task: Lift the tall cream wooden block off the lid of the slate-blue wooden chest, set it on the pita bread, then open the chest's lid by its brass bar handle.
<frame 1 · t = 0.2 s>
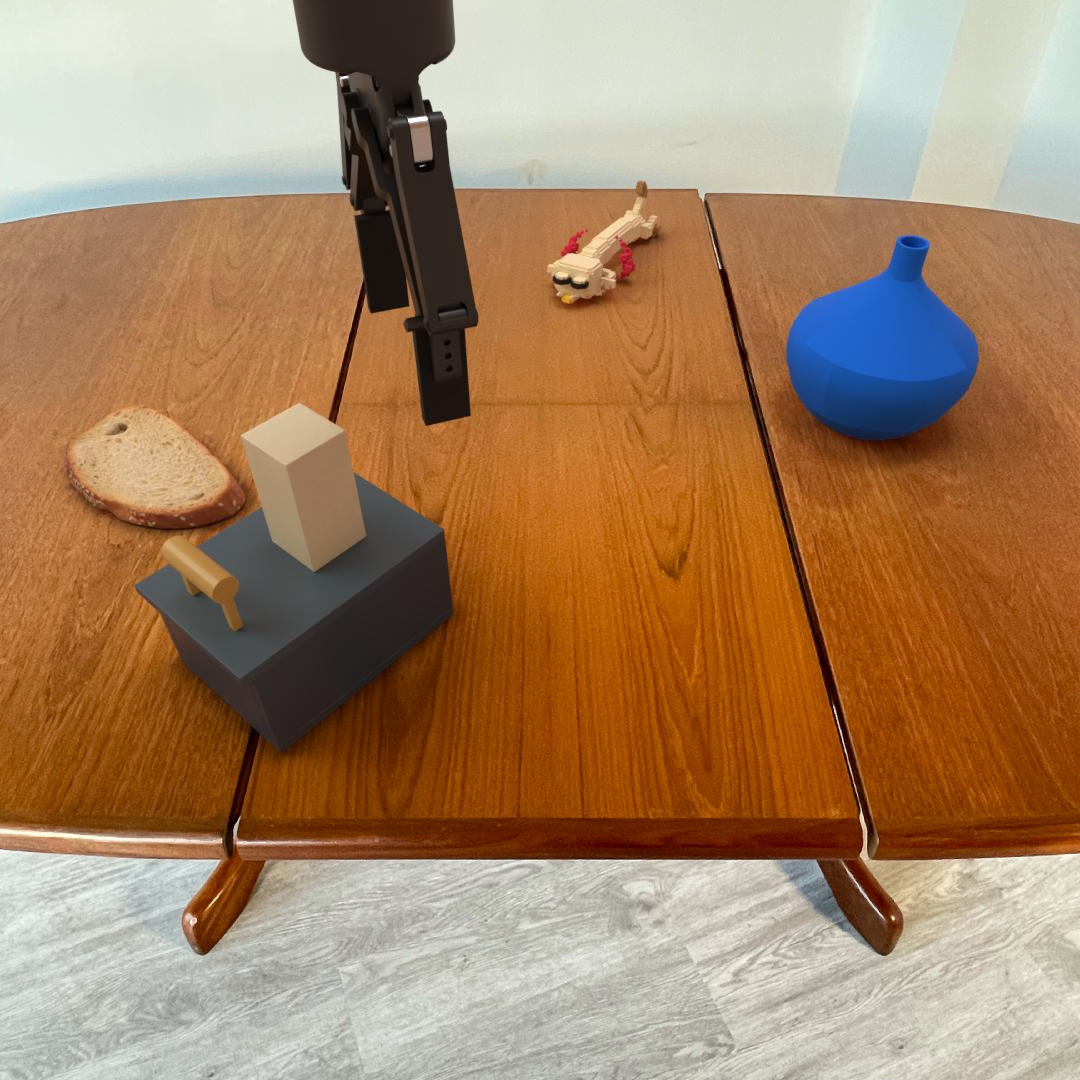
hand: (415, 358, 55), 25 cm above the table, tool pointing down, fingers open, 13 cm apart
bread slice: (158, 474, 87), on the table
block: (319, 539, 66), point 10 cm above the table, touching chest lid
chest lid: (288, 535, 63), point 12 cm above the table, hinge at -0.2°, touching block, chest
chest: (321, 637, 72), on the table
cat figure: (605, 269, 118), on the table
vase: (860, 414, 94), on the table
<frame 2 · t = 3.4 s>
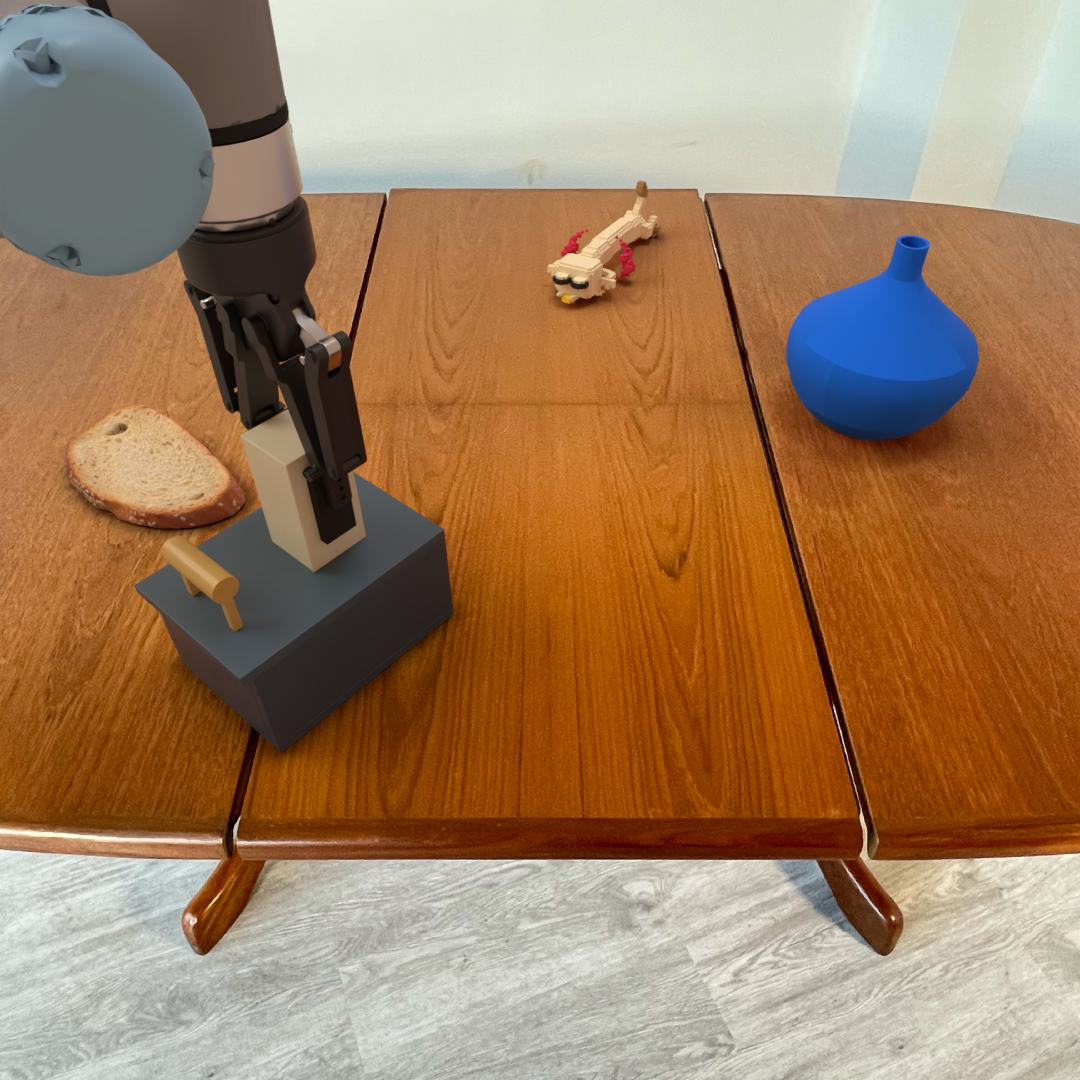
hand: (313, 514, 64), 12 cm above the table, tool pointing down, fingers closed on block, 5 cm apart
block: (319, 539, 66), point 10 cm above the table, touching chest lid, gripper
everything else where it was.
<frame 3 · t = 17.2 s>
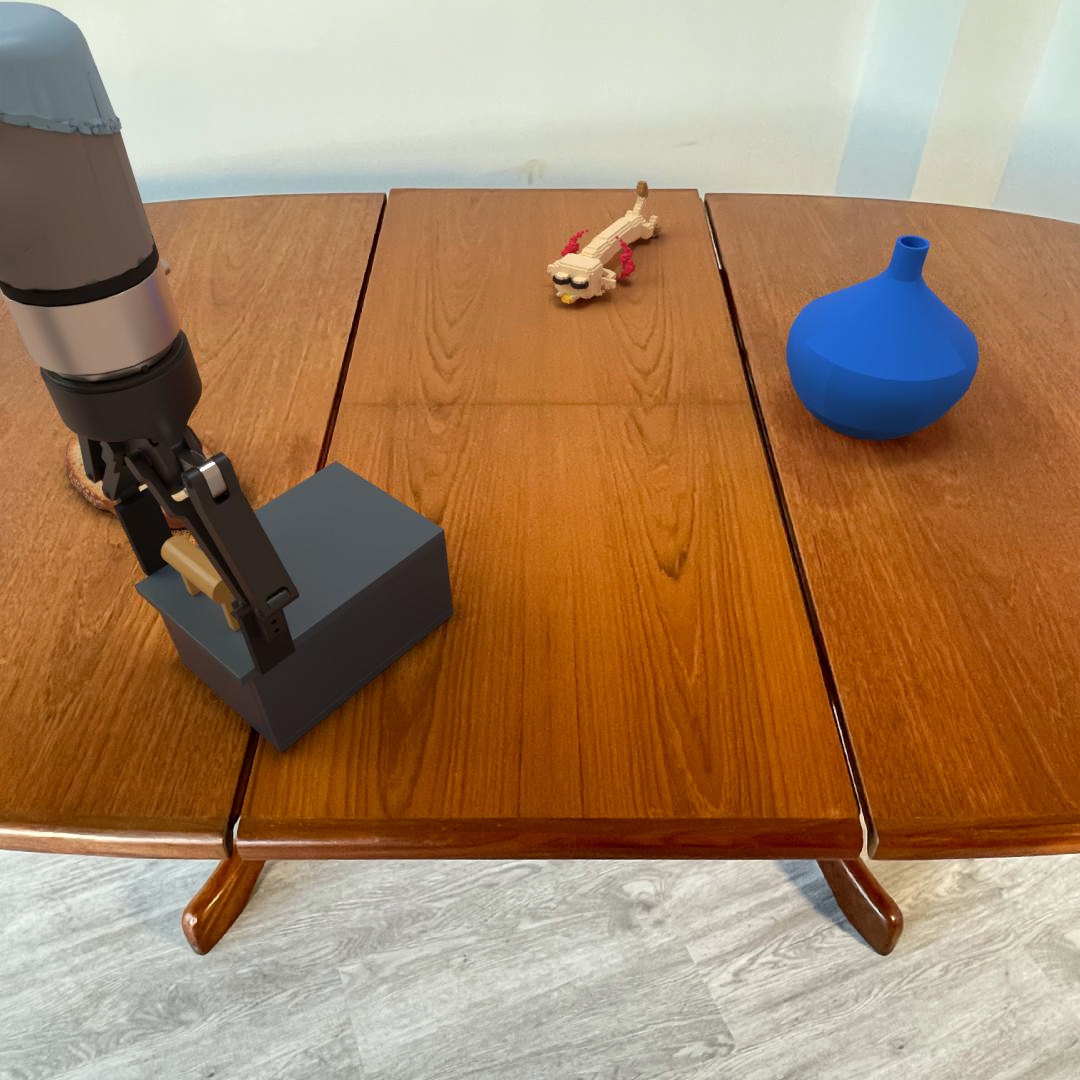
hand: (216, 610, 61), 10 cm above the table, tool pointing down
bread slice: (159, 474, 87), on the table, touching block
block: (148, 445, 85), point 3 cm above the table, touching bread slice
chest lid: (288, 535, 63), point 12 cm above the table, hinge at -0.2°, touching chest, gripper
everything else where it was.
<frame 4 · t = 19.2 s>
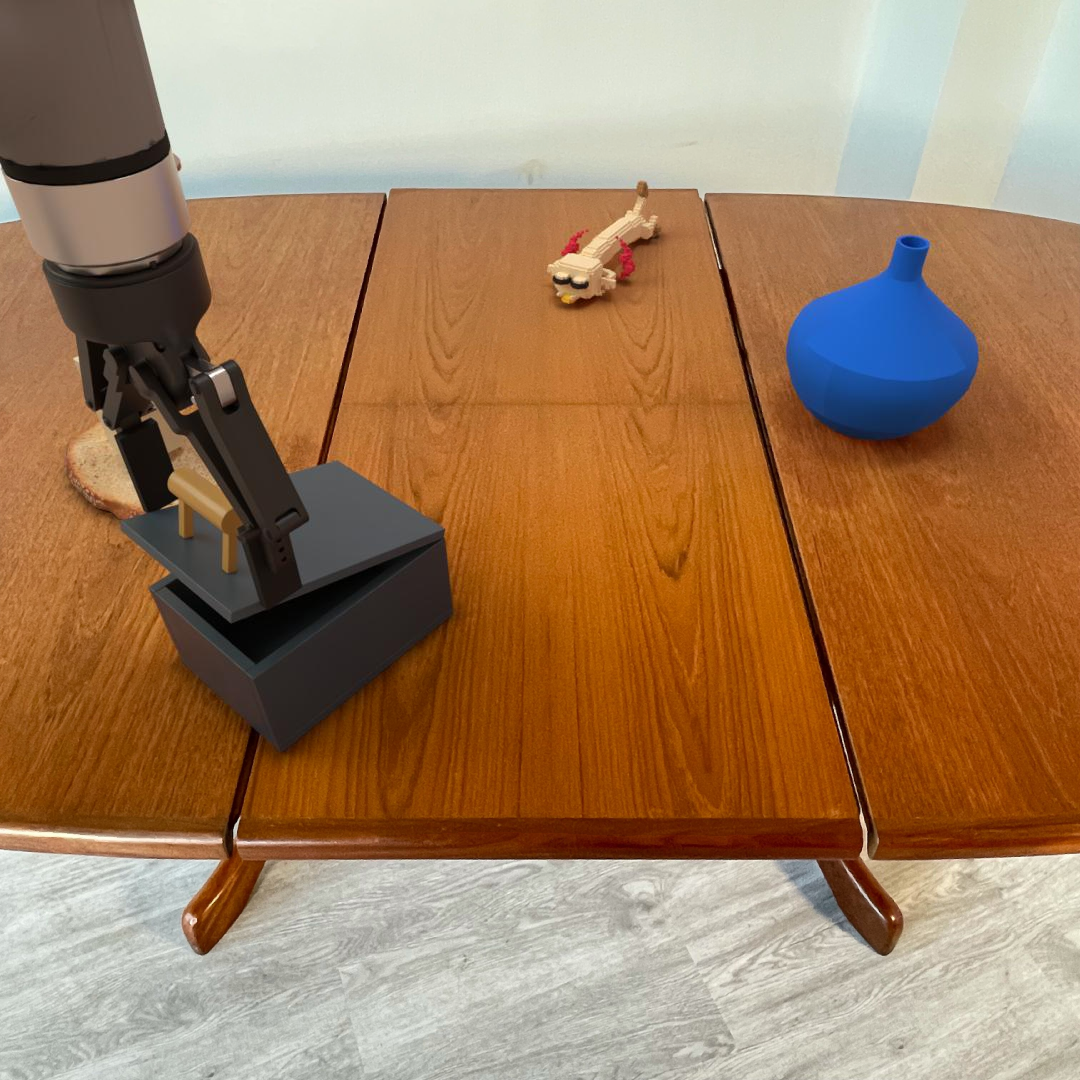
hand: (219, 547, 59), 14 cm above the table, tool pointing down
chest lid: (293, 499, 62), point 15 cm above the table, hinge at 17.6°, touching gripper
everything else where it was.
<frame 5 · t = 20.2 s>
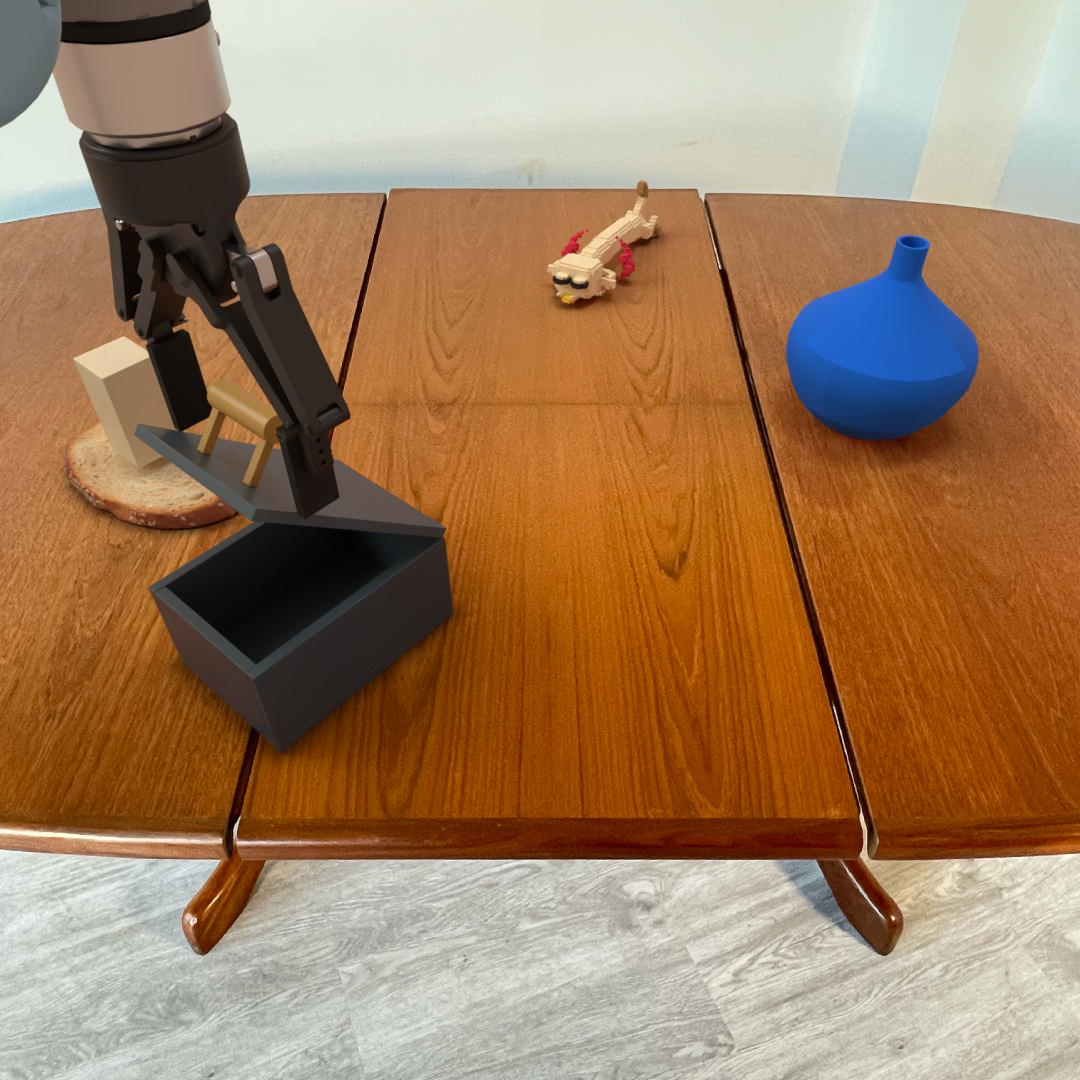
hand: (253, 461, 58), 19 cm above the table, tool pointing down
chest lid: (315, 453, 62), point 17 cm above the table, hinge at 39.5°, touching gripper
everything else where it was.
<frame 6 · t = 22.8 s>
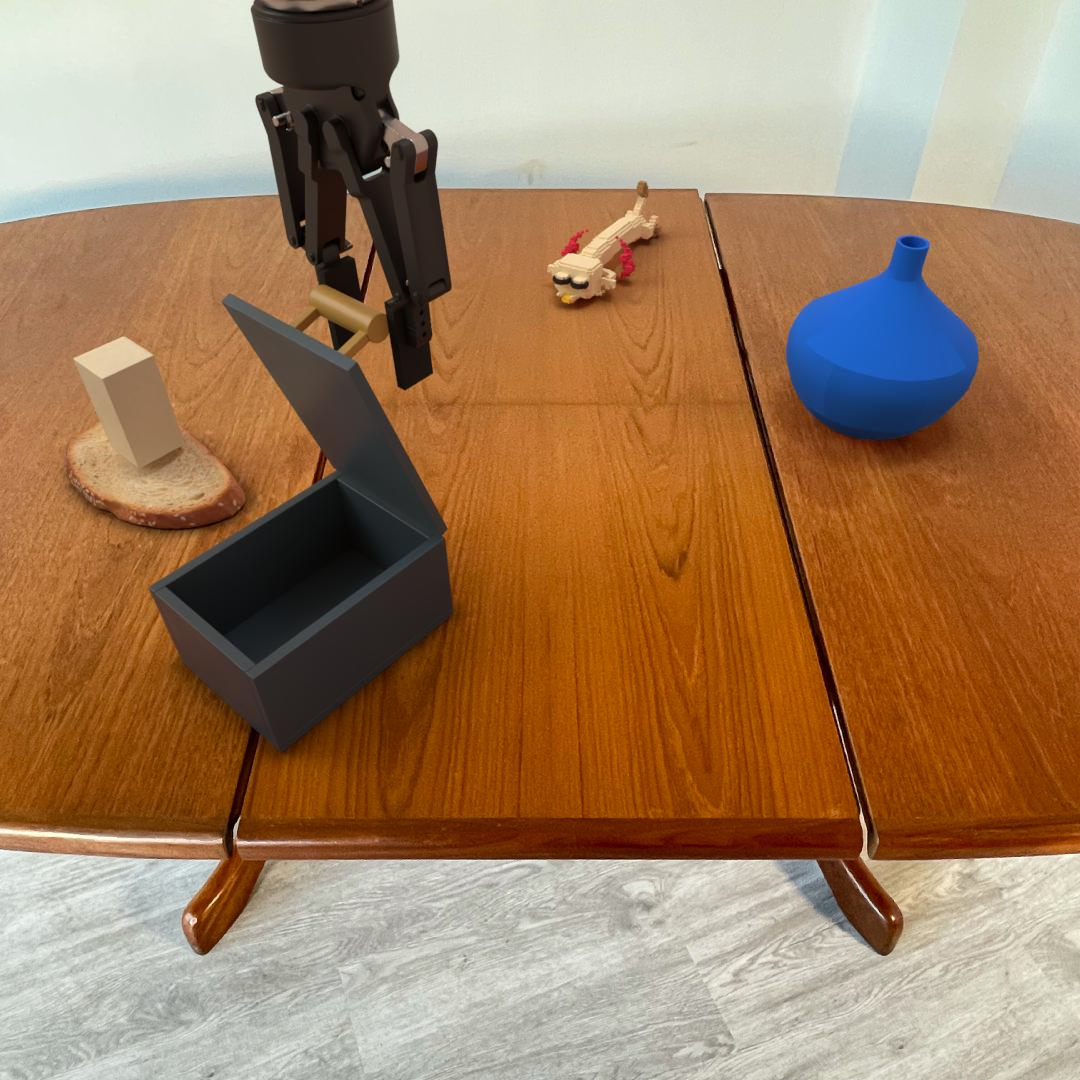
hand: (382, 362, 63), 21 cm above the table, tool pointing down, fingers closed on chest lid, 6 cm apart
chest lid: (367, 400, 63), point 19 cm above the table, hinge at 72.1°, touching gripper
everything else where it was.
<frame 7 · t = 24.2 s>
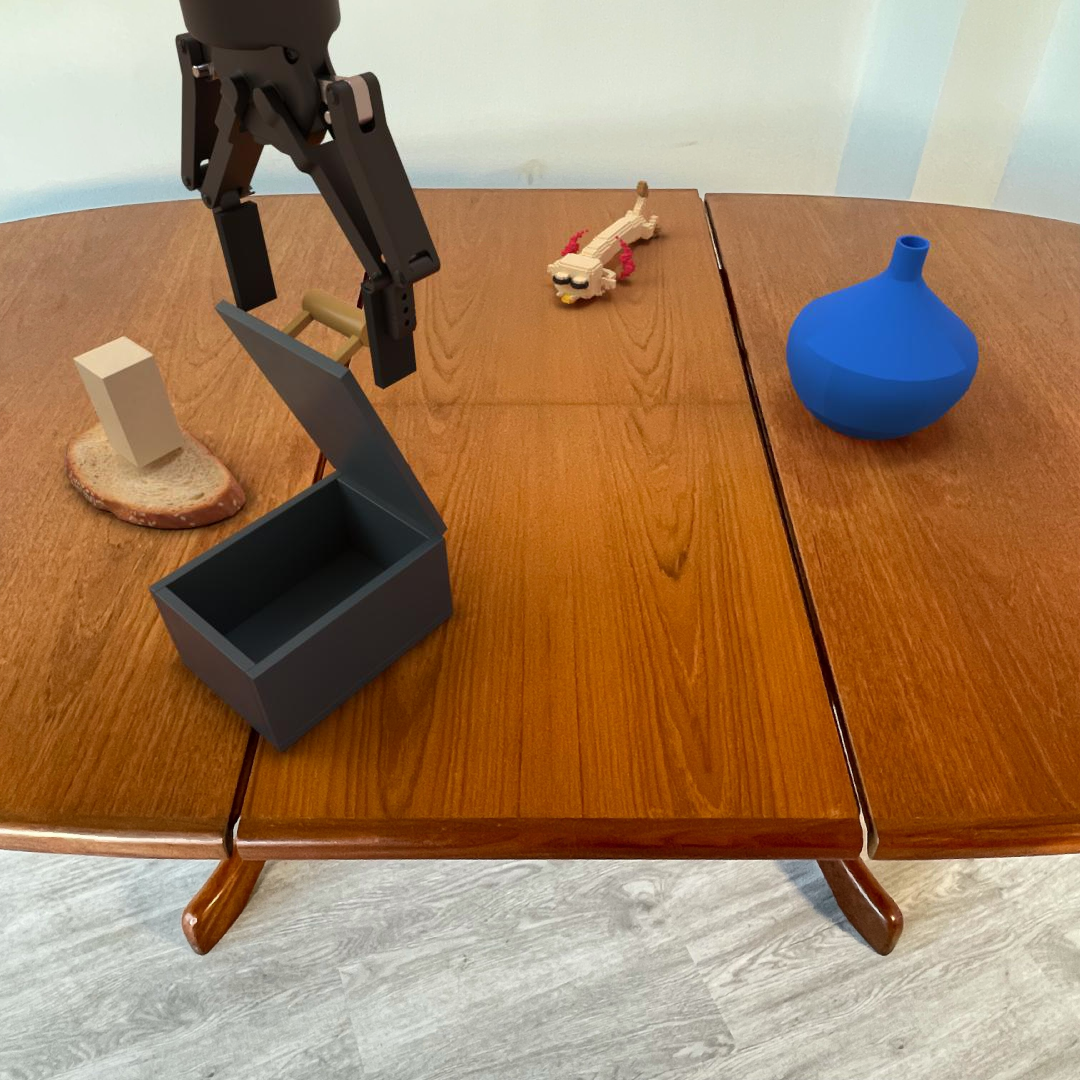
hand: (323, 339, 56), 26 cm above the table, tool pointing down, fingers open, 13 cm apart
chest lid: (363, 402, 63), point 19 cm above the table, hinge at 70.1°, touching gripper
everything else where it was.
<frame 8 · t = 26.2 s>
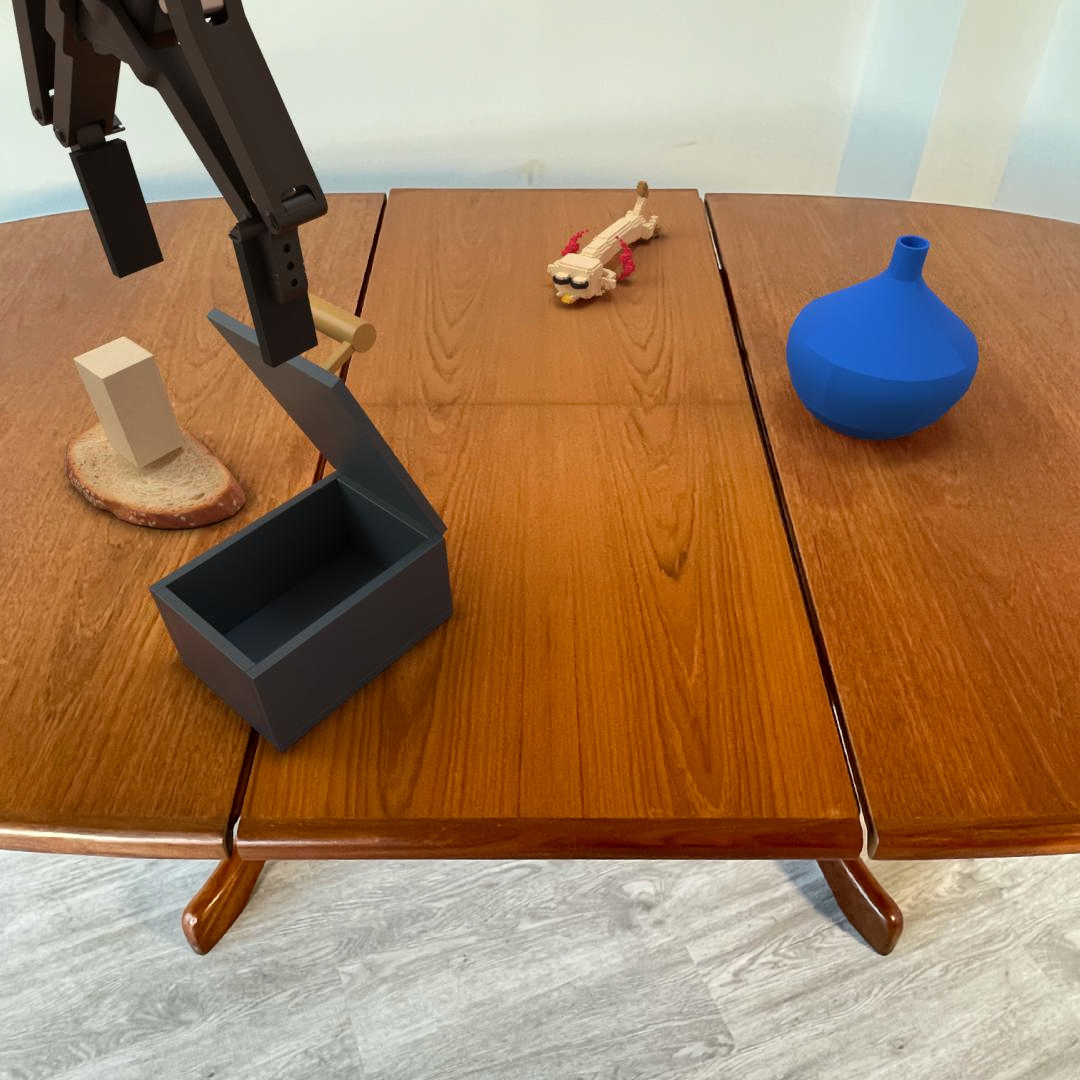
hand: (210, 308, 46), 33 cm above the table, tool pointing down, fingers open, 13 cm apart
chest lid: (359, 405, 63), point 19 cm above the table, hinge at 67.7°
everything else where it was.
at the end: block inside the target area on the bread slice (0.1 cm from its centre), point 3.5 cm above the bread slice's base; block tilted 0°; chest lid at +68° (first picture: +0°) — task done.
